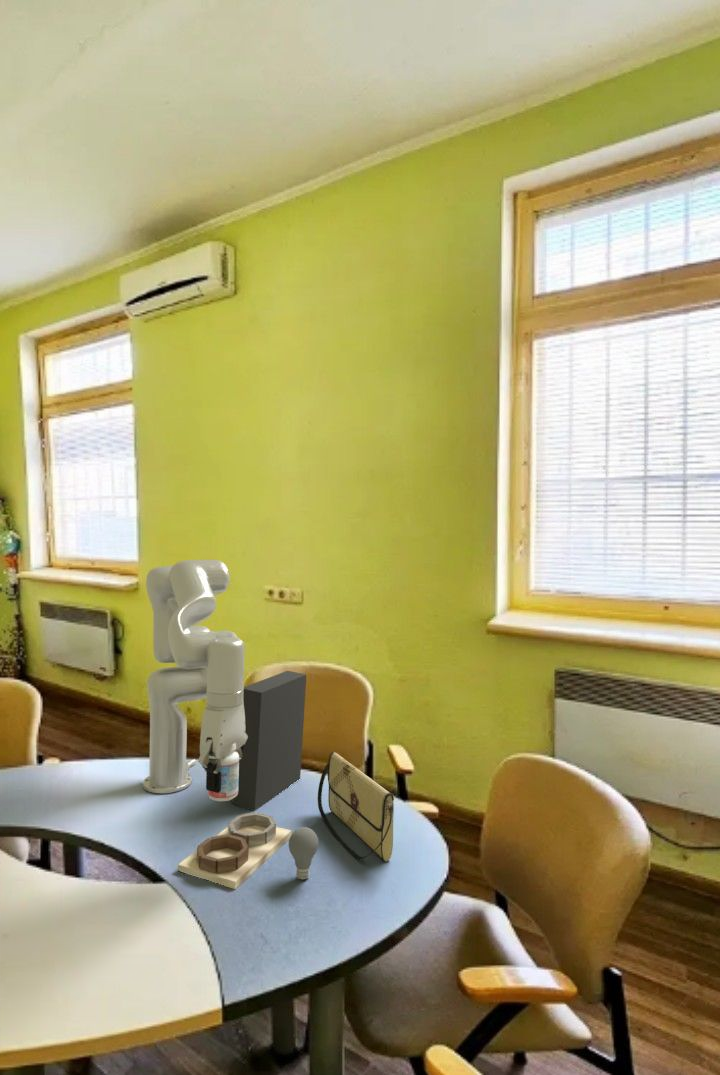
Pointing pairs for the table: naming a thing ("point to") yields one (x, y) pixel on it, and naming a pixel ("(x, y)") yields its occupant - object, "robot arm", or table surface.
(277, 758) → the dark gray upright block
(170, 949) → the table surface
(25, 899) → the table surface
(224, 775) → the pill bottle
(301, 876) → the light bulb
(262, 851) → the holder board
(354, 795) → the clutch purse
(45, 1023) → the table surface
